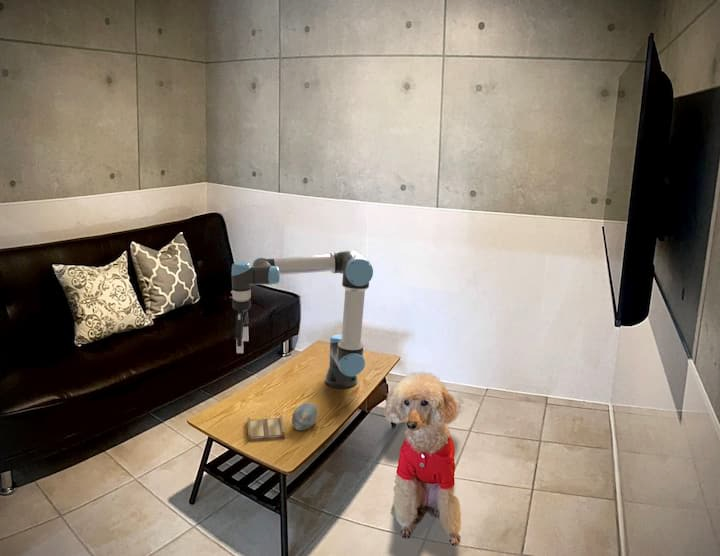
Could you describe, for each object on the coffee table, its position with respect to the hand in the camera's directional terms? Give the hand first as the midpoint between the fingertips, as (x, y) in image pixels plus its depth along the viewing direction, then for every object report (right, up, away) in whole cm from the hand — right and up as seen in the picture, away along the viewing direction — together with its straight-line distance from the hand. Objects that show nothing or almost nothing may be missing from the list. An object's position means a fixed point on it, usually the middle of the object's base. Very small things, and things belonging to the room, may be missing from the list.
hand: (242, 346), depth 259 cm
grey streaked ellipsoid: (+27, -31, -10) cm, 43 cm away
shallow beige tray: (+12, -32, -15) cm, 37 cm away
